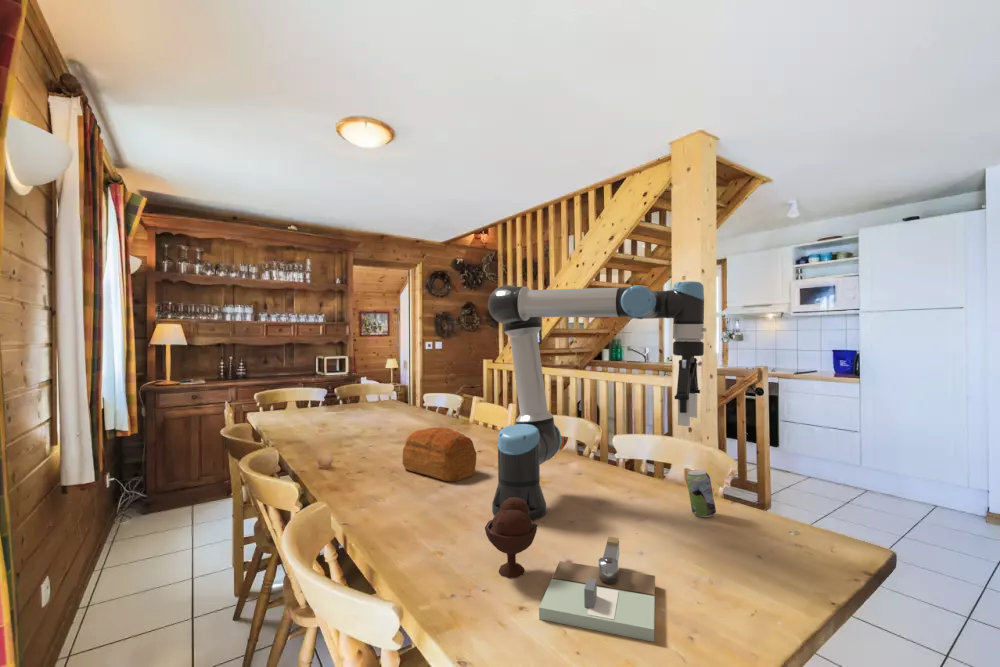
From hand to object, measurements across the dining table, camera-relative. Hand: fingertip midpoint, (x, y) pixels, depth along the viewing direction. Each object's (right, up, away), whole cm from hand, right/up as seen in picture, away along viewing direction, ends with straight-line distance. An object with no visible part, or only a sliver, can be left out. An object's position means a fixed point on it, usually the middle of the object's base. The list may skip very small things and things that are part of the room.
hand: (687, 421), depth 122 cm
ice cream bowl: (-47, -27, -25) cm, 60 cm away
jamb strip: (-29, -27, -31) cm, 50 cm away
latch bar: (-27, -24, -28) cm, 46 cm away
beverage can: (+5, -27, +4) cm, 28 cm away
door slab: (-32, -27, -40) cm, 58 cm away
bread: (-72, -28, +47) cm, 90 cm away
